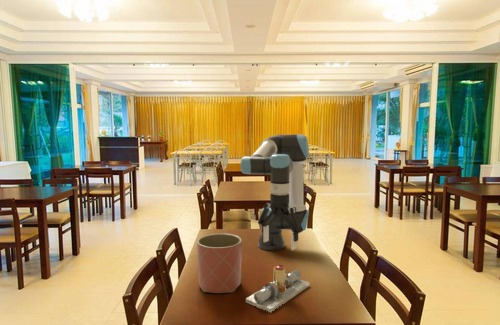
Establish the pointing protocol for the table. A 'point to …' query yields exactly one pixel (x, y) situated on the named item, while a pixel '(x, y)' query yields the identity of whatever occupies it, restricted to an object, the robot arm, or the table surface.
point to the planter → (219, 262)
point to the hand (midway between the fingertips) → (279, 245)
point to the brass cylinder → (279, 277)
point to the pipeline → (272, 298)
